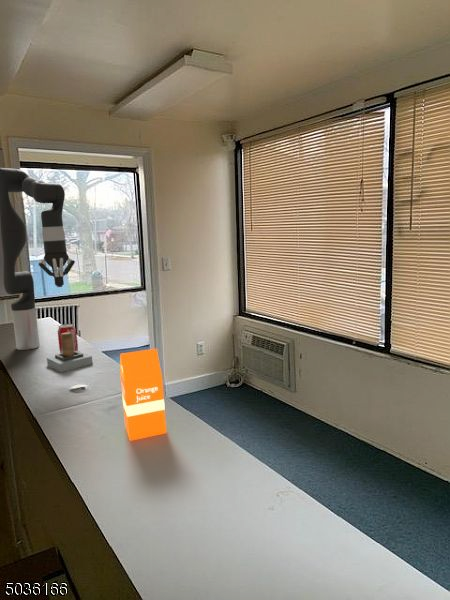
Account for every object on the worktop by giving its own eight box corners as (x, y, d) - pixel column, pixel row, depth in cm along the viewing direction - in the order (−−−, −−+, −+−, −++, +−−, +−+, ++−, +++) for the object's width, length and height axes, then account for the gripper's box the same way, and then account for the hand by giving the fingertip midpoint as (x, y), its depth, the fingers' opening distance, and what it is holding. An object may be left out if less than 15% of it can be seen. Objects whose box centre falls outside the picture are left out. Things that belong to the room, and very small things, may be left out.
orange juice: (125, 427, 107) (117, 349, 103) (160, 420, 110) (154, 344, 106) (129, 441, 99) (122, 358, 96) (167, 433, 102) (160, 352, 99)
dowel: (62, 365, 160) (58, 333, 158) (72, 362, 163) (69, 331, 161) (66, 367, 157) (63, 335, 155) (77, 364, 160) (73, 333, 158)
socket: (47, 365, 160) (46, 355, 160) (78, 357, 168) (77, 348, 168) (61, 372, 152) (59, 361, 151) (92, 363, 160) (91, 353, 159)
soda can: (66, 357, 169) (63, 328, 167) (56, 355, 173) (53, 326, 171) (82, 353, 175) (79, 324, 173) (72, 350, 179) (69, 322, 177)
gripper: (70, 238, 162) (75, 284, 165) (32, 240, 155) (38, 288, 158) (75, 238, 156) (80, 285, 159) (36, 240, 149) (42, 289, 152)
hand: (59, 286), depth 159 cm, fingers closed
